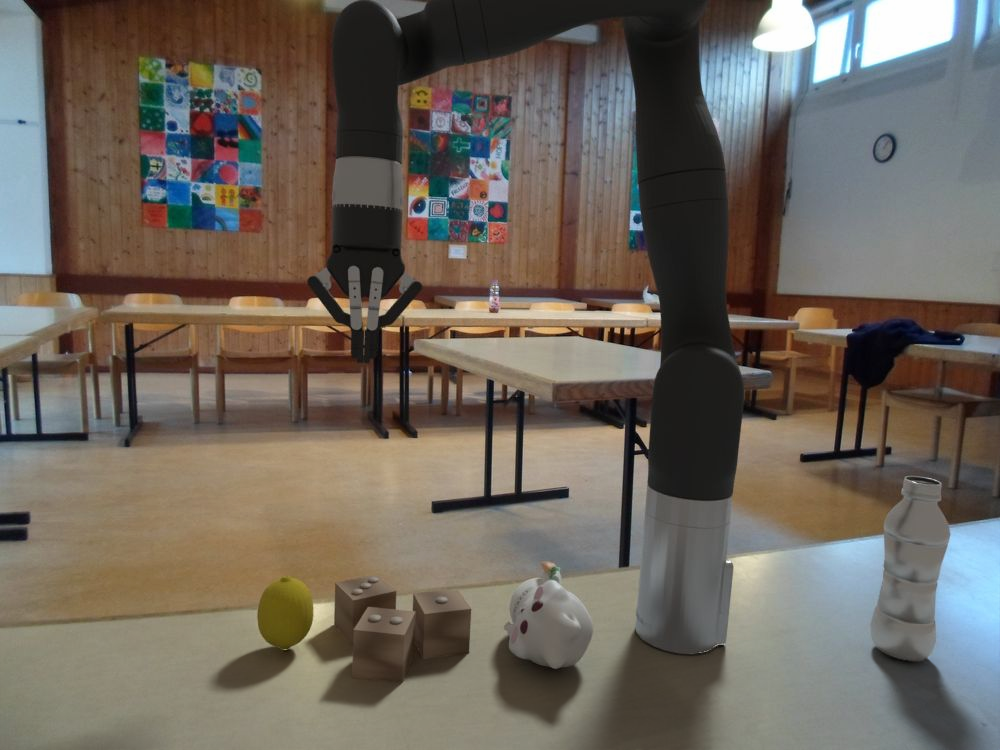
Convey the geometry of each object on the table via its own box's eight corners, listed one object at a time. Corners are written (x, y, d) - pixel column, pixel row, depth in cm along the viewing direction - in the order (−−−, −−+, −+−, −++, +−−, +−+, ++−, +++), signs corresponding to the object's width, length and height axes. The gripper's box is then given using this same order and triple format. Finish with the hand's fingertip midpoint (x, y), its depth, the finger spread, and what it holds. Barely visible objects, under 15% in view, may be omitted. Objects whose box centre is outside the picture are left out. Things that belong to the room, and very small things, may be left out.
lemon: (297, 667, 71) (298, 590, 70) (246, 659, 72) (247, 583, 71) (321, 641, 77) (323, 569, 76) (273, 633, 78) (274, 562, 77)
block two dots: (413, 657, 75) (415, 609, 74) (402, 683, 70) (404, 632, 69) (366, 652, 75) (368, 604, 75) (352, 678, 70) (353, 627, 70)
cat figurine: (528, 541, 83) (562, 580, 69) (584, 576, 85) (630, 622, 70) (483, 613, 83) (508, 668, 68) (541, 647, 84) (577, 708, 69)
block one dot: (455, 631, 81) (457, 587, 80) (469, 653, 76) (471, 606, 75) (411, 636, 79) (413, 591, 78) (422, 660, 74) (424, 612, 74)
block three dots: (375, 615, 83) (376, 572, 83) (394, 634, 79) (396, 589, 79) (334, 625, 81) (335, 580, 80) (352, 645, 77) (353, 598, 76)
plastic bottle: (929, 648, 83) (953, 478, 80) (936, 676, 77) (962, 493, 74) (866, 634, 85) (887, 469, 83) (868, 659, 79) (891, 482, 77)
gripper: (426, 212, 84) (420, 361, 86) (308, 203, 81) (305, 357, 83) (431, 206, 76) (424, 369, 78) (302, 197, 74) (299, 365, 76)
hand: (363, 362), depth 81 cm, fingers closed
